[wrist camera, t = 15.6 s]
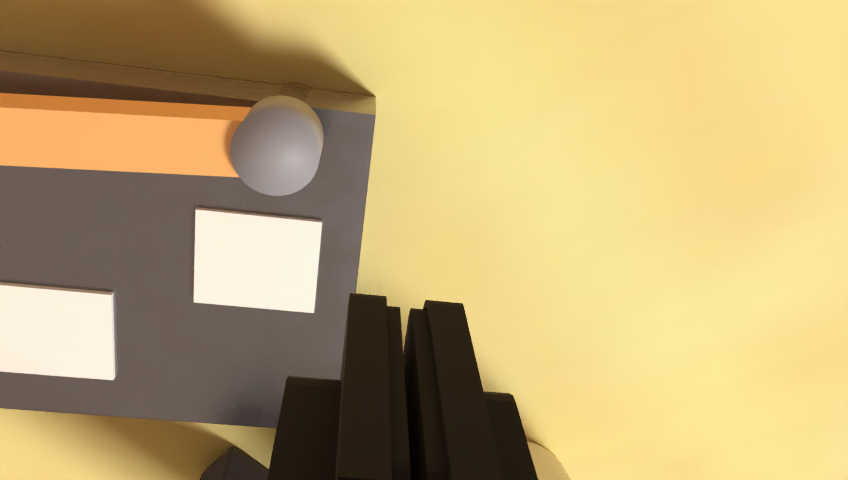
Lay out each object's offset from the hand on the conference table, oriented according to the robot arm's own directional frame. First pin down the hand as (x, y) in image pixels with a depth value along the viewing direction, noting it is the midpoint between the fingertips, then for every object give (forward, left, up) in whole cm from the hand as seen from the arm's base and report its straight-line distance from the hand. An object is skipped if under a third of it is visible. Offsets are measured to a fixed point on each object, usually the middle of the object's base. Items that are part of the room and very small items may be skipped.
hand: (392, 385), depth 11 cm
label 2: (+5, +10, -25) cm, 27 cm away
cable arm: (+12, +4, -23) cm, 26 cm away
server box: (+11, +11, -29) cm, 33 cm away
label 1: (+15, +15, -25) cm, 33 cm away
